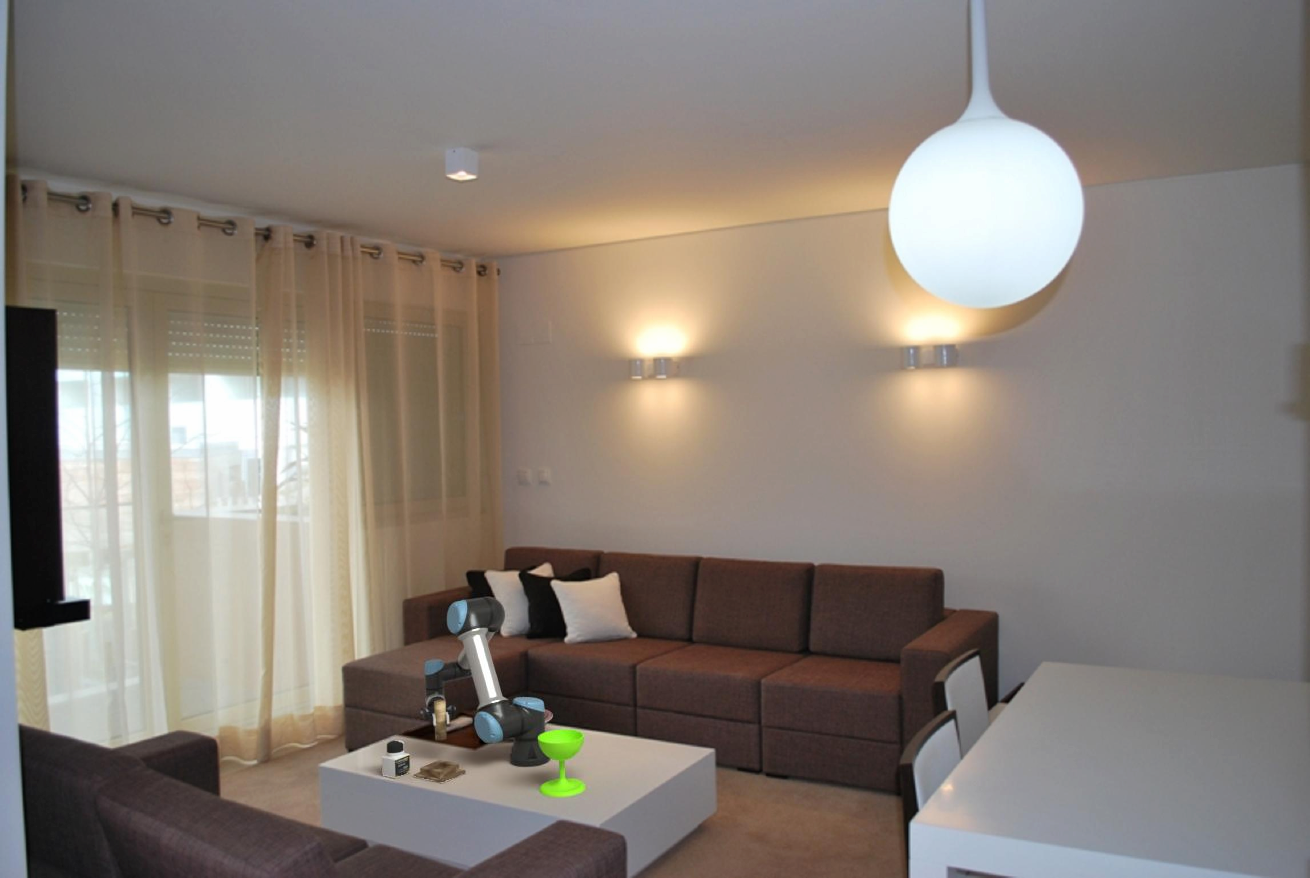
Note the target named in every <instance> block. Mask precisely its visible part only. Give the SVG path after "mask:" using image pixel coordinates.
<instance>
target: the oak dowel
mask: <svg viewBox="0 0 1310 878" xmlns="http://www.w3.org/2000/svg"><path fill="white" fill-rule="evenodd" d="M445 700H446V699H445ZM445 700H436V701H434V714H435V717H436V725H434V735H435V736H434V738H435V740H436V741H444V740H447V738H448V737H447V736H448V735H447V734H448V733H447V731H448V730H447V722H446V703H447V701H445Z"/></svg>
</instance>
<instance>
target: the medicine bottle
mask: <svg viewBox="0 0 1310 878" xmlns="http://www.w3.org/2000/svg"><path fill="white" fill-rule="evenodd" d="M410 758H411V757H410V753H407V752H405V742H404V741H403V740H398V739H396V740H395V739H394V740H391V741H389V742H387V744H386V755H383V756H381V775H382V774H384V775H388V776H392V777H394V778H396V777H398V776H401V775H404V776H406V775H405V774H407V775H409V774H410V773H411V765H410V762H411V761H410V760H411V759H410ZM409 772H410V773H409ZM408 773H409V774H408ZM394 778H393V779H394Z"/></svg>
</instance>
